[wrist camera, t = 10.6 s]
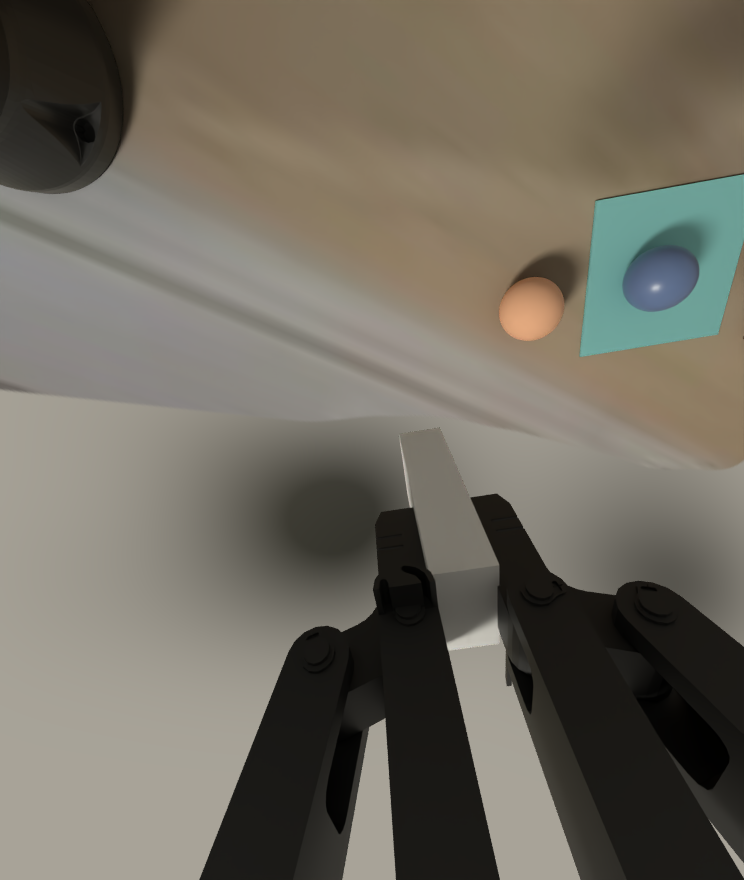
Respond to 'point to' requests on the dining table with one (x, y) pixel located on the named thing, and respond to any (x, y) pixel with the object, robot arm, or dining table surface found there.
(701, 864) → the robot arm
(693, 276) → the object ball
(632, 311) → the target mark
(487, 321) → the dining table surface
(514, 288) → the orange sphere
